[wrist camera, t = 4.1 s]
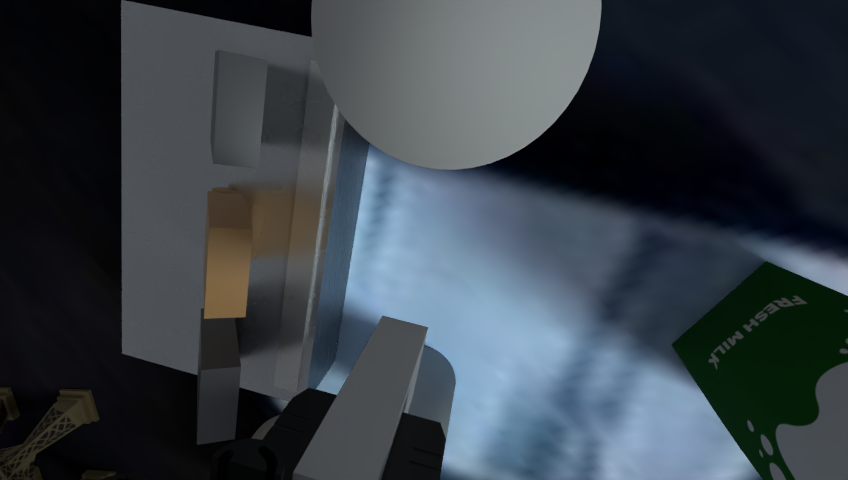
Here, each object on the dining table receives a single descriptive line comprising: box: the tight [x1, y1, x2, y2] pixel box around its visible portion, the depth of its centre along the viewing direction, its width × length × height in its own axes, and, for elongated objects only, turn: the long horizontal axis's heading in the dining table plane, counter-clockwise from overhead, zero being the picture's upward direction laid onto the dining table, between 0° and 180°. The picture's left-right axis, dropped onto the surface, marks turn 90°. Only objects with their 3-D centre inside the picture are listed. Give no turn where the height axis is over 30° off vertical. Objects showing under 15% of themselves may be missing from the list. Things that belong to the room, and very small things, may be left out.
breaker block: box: [121, 0, 369, 402], centre depth 26 cm, size 12×20×5 cm, turn 169°
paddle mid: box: [203, 187, 253, 319], centre depth 21 cm, size 2×4×7 cm
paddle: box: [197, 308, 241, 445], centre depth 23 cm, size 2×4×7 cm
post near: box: [311, 0, 601, 170], centre depth 16 cm, size 5×5×18 cm
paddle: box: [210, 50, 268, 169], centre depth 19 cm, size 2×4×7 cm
